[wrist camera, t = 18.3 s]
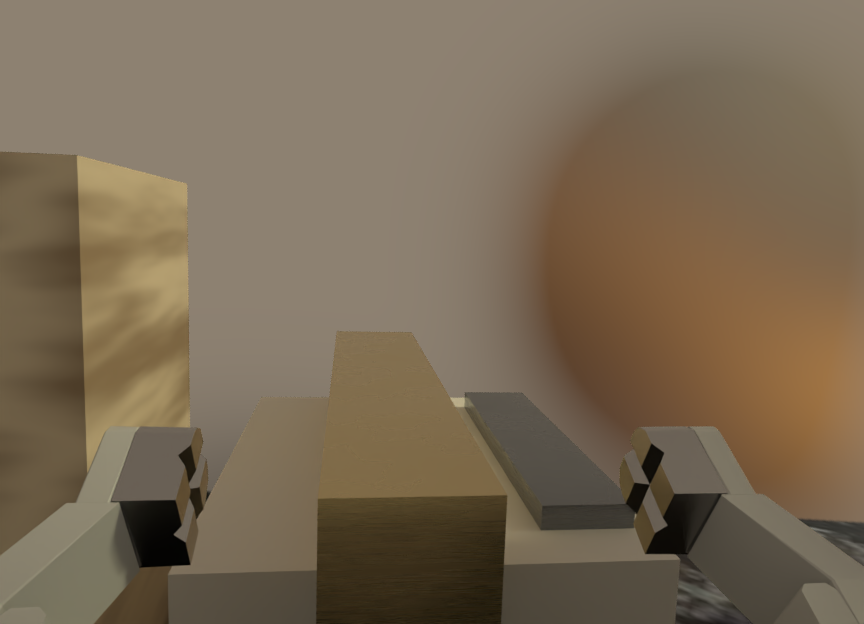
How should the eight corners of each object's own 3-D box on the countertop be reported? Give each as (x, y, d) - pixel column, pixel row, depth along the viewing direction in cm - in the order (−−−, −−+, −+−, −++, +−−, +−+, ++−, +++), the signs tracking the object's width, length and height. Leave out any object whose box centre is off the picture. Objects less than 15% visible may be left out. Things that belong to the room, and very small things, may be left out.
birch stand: (192, 647, 38) (186, 183, 34) (100, 890, 24) (76, 155, 21) (4, 655, 36) (-20, 175, 33) (-208, 916, 23) (-284, 138, 19)
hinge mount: (507, 649, 38) (521, 383, 36) (641, 1012, 21) (682, 532, 19) (260, 660, 37) (261, 382, 35) (176, 1067, 19) (167, 545, 17)
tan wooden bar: (409, 395, 36) (411, 332, 36) (499, 647, 15) (507, 495, 14) (335, 395, 36) (336, 331, 35) (315, 655, 14) (317, 498, 14)
